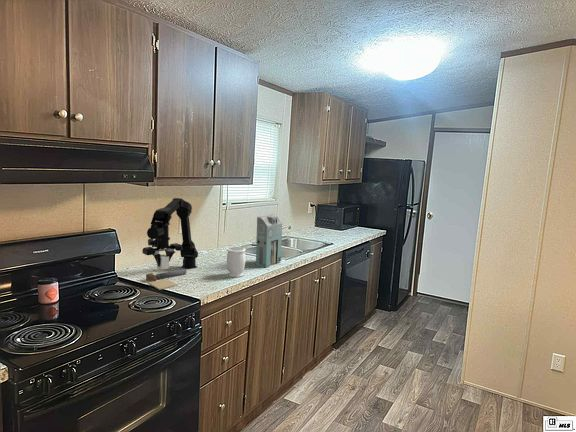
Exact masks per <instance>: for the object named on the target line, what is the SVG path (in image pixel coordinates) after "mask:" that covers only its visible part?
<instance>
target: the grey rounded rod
mask: <svg viewBox="0 0 576 432" xmlns="http://www.w3.org/2000/svg"><path fill="white" fill-rule="evenodd" d="M186 274H187V269H186V268H185V269H184V268H182V269H177V270H171V271H166V272H161V273H157V274H155V275H156V280H163V279H168V278H172V277H177V276H178V277H179V276H182V275H183V276H184V275H186Z"/></svg>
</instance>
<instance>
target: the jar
mask: <svg viewBox="0 0 576 432" xmlns="http://www.w3.org/2000/svg"><path fill="white" fill-rule="evenodd" d="M246 251H247V249H246V248H244V247H239V246H232V247H228V248H226V252H227V255H226V264H227V265H226V266H227V270H228V273H227V275H228V276H229V277H231V276H232V278H240V277H239V276H241V277H243V276H244V270H245V268H246V267H245V266H246V258H247V257H246Z"/></svg>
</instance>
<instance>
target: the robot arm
mask: <svg viewBox="0 0 576 432" xmlns="http://www.w3.org/2000/svg"><path fill="white" fill-rule="evenodd" d="M192 210H193V205H192V204H191V203H190V202H188V201H186V200H184V199H183V198H181V197H180V198H179V197H174V198H172V200H171V201H169V203H167V205H165V206H164V207H162V208H158V209H156V210H155V211H154V213H153V215H152V218H151V222H150V227H149V228H148V229H147V231H146V235H147V237H148V239H147V244H148V245H147V246H148V247H147V246H146V247H143V248H142V249H141V250H142V254H144V255H145V256H153V257H154V260H155V262H156V266H157V265H158V266H159V267H160V255H162V254H161V253H160V252H164V251H165V255H167V256H169V262H170V261H171V259H172V257H173V255H174V254H175V253H177V252H180V257H181V258H182V259H183V260H182V266H181V267H182V268H183V269H184V268H185V270H189V269H195V268H198V266H197V265H196V262H197V261H196V259H197V258H198V257H199V252H198V250H197V248H196V244H195V243H194V242H193V240H192V233H191V232H192V231H191V223H190V216H191V214H192ZM173 213H176V215H177V216H178V218H179V221H180V229H181V236H182V238H181V239H182V243H181V244H180V243H176V242H175V243H170V244H169V242H170V241H169V240H171V237H169V231H170V230H169V229H170V227H169V226H170V225H171V223H170V221H171V219H172V218H173V217H172V215H173ZM176 251H177V252H176Z"/></svg>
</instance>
